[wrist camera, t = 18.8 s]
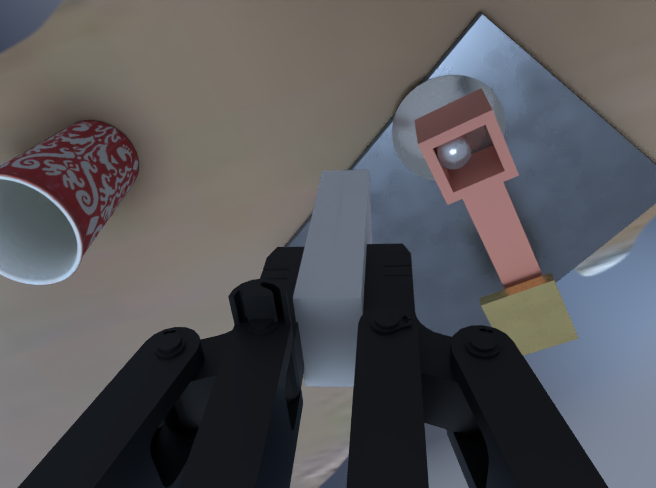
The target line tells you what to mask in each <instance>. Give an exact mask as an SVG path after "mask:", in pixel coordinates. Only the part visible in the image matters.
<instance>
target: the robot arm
mask: <svg viewBox="0 0 656 488" xmlns="http://www.w3.org/2000/svg"><path fill="white" fill-rule="evenodd" d="M228 297H229V302H230V306H231V310H232V315H233V319H234V324H235V325H234V328H233V330H232V331H229V332H227V333H225V334H222V335H218V336H214V337H210V338H206V339H201V340H200V337H199V335H198V334H197V333H196V332H195V331H194V330H192V329H189V328H186V327H174V328H169V329H165V330H162V331H160V332H158V333H156V334H154V335H153V336H152V337H151V338H149V339H148V340H147V341H146V342H145V343H144V344H143V345H142V346H141V347H140V349H139V350H138V351H137V352H136V353H135V354H134V355H133V357H132V358H131V359H130V360H129V361H128V362H127V363H126V365H125V366H124V367H123V368H122V369H121V370H120V371H119V373H118V374H117V375H116V376H115V377H114V378H113V379H112V381H111V382H110V383H109V384H108V385H107V386H106V387H105V389H104V390H103V391H102V392H101V393H100V394H99V395H98V397H97V398H96V399H95V400H94V401H93V402H92V403H91V405H90V406H89V407H88V408H87V409H86V410H85V411H84V413H83V414H82V415H81V416H80V417H79V418H78V419H77V421H76V422H75V423H74V424H73V425H72V426H71V427H70V429H69V430H68V431H67V432H66V433H65V434H64V435H63V437H62V438H61V439H60V440H59V441H58V442H57V443H56V445H55V446H54V447H53V448H52V449H51V450H50V451H49V453H48V454H47V455H46V456H45V457H44V458H43V459H42V461H41V462H40V463H39V464H38V465H37V466H36V467H35V469H34V470H33V471H32V472H31V473H30V474H29V475H28V477H27V478H26V479H25V480H24V481H23V482H22V483H21V485H20V486H19V487H18V488H290V482H291V475H292V469H293V463H294V457H295V451H296V444H297V438H298V432H299V426H300V419H301V413H302V407H303V398H302V391H301V385H302V379H303V373H304V380H305V386H337V387H354V389H353V403H352V417H351V432H350V446H349V461H348V474H347V488H429V485H428V471H427V456H426V443H425V442H426V441H425V427H424V423H428V424H431V425H434V426H437V427H441V428H444V429H447V435H448V437H449V440H450V442H451V445H452V447H453V450H454V452H455V454H456V457H457V459H458V462H459V464H460V467H461V469H462V472H463V474H464V477H465V479H466V481H467V484H468V486H469V488H608V486H607V485H606V483H605V482H604V480H603V478H602V477H601V475H600V474H599V472H598V471H597V469H596V468H595V466H594V465H593V463H592V462H591V460H590V459H589V457H588V456H587V454H586V453H585V451H584V449H583V448H582V446H581V445H580V443H579V441H578V440H577V438H576V437H575V435H574V434H573V432H572V431H571V429H570V428H569V426H568V425H567V423H566V422H565V420H564V418H563V417H562V416H561V414H560V412H559V411H558V409H557V408H556V406H555V404H554V403H553V402H552V400H551V399H550V397H549V396H548V394H547V392H546V391H545V389H544V388H543V386H542V384H541V383H540V381H539V380H538V378H537V377H536V375H535V374H534V372H533V371H532V369H531V367H530V366H529V364H528V363H527V361H526V360H525V358H524V357H523V355H522V354H521V352H520V351H519V349H518V347H517V346H516V344H515V343H514V341H513V340H512V339H511V338H510V337H509V336H508V335H507V334H506V333H504V332H502V331H500V330H498V329H496V328H494V327H489V326H485V325H471V326H468V327H465V328H462V329H460V330H459V331H457V332H456V333H455V334H454V335H453V337H451V336H447V335H443V334H440V333H436V332H433V331H432V330H430V329H428V328H426V327H425V326H424V325H423V324H421V323H420V321H419V320H418V318H417V317H416V313H415V302H414V288H413V274H412V259H411V253H410V252H409V250H408V249H407V248H406V247H405V246H404V244H403V243H397V244H372V224H371V201H370V178H369V169H367V170H339V171H322V175H321V179H320V183H319V188H318V192H317V196H316V200H315V205H314V209H313V213H312V218H311V222H310V226H309V231H308V235H307V239H306V243H305V247H277V248H276V249H275V250H274V251H273V252H272V253H271V254H270V255H269V256H268V257H267V259H266V262H265V265H264V268H263V271H262V274H261V277H260V279H256V280H250V281H248V282H245V283H242V284H240V285H239V286H238V287H236V288H235V289H233V291H232V292H231V293H230V295H229V296H228Z"/></svg>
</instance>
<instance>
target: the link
mask: <svg viewBox="0 0 656 488" xmlns="http://www.w3.org/2000/svg"><path fill="white" fill-rule="evenodd" d="M414 122H415V129H416V136H417V142H418V146H419V148H420V150H421V152H422V154H423V156H424V158H425V160H426V162H427V164H428V166H429V168H430V170H431V172H432V174H433V176H434V178H435V180H436V182H437V185H438V187H439V189H440V191H441V193H442V195H443V197H444V199H445V201H446V203H447V205H449V204H451V203H454V202H456V201H459V200H461V199H463V201H464V203H465V206H466V208H467V210H468V212H469V214H470V216H471V218H472V220H473V222H474V225H475V227H476V229H477V231H478V233H479V235H480V237H481V239H482V242H483V244H484V246H485V248H486V250H487V252H488V254H489V256H490V258H491V261H492V263H493V265H494V267H495V269H496V271H497V273H498V275H499V277H500V280H501V282H502V284H503V286H504V288H505V289H506V288H509V287H512V286H515V285H518V284H521V283H523V282H526V281H529V280H532V279H535V278H538V277H540V276H543V275H542V272H541V270H540V268H539V265H538V263H537V260H536V258H535V256H534V253H533V251H532V249H531V246H530V244H529V242H528V239H527V237H526V234H525V232H524V230H523V227H522V225H521V223H520V220H519V218H518V216H517V213H516V211H515V208H514V206H513V204H512V201H511V199H510V197H509V194H508V192H507V190H506V187H505V185H504V181H507V180H509V179H512V178H514V177H516V176H519V174H518V171H517V169H516V166H515V164H514V161H513V159H512V156H511V154H510V152H509V149H508V147H507V144H506V142H505V139H504V137H503V134H502V132H501V129H500V127H499V124H498V122H497V119H496V117H495V114H494V112H493V110H492V108H491V106H490V104H489V102H488V100H487V98H486V96H485V94H484V92H483V90H482V88H480V89H478V90H476V91H474V92H472V93H470V94H468V95H466V96H464V97H462V98H460V99H457V100H455V101H453V102H451V103H449V104H447V105H445V106H443V107H441V108H439V109H437V110H434V111H432V112H430V113H428V114H426V115H424V116H422V117H420V118H418V119H416V120H414ZM484 125H485V126H486V129H487V131H488V133H489V136H490V138H491V141H492V143H493V145H491V146H489V147H487V148H484V149H482V150H480V151H478V152H475V153H473V154H471V156H470V159H469V161H468V162H467V163H466V164H465V165H464V166H463V167H461V168H458V169H448V168H445V167H444V166H442V165H441V164H440V162H439V160H438V156H437V151H436V147H438V146H440V145H442V144H444V143H446V142H448V141H451V140H453V139H455V138H457V137H459V136H462V135H464V134H466V133H468V132H470V131H473V130H475V129H477V128H479V127H481V126H484Z"/></svg>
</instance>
